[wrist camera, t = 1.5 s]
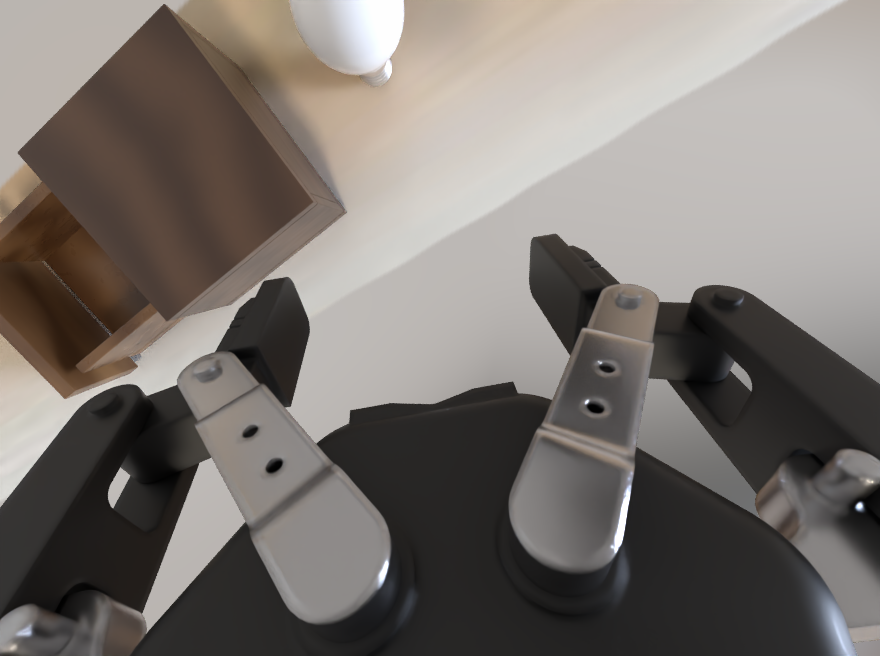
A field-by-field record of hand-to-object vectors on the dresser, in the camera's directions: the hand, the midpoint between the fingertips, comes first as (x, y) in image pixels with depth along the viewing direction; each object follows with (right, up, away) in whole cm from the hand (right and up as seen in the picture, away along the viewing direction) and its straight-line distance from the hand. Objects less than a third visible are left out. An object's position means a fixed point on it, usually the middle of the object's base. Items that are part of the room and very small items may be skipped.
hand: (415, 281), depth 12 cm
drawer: (-27, +2, +19) cm, 33 cm away
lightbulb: (-4, +18, +16) cm, 25 cm away
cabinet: (-17, +10, +18) cm, 27 cm away
